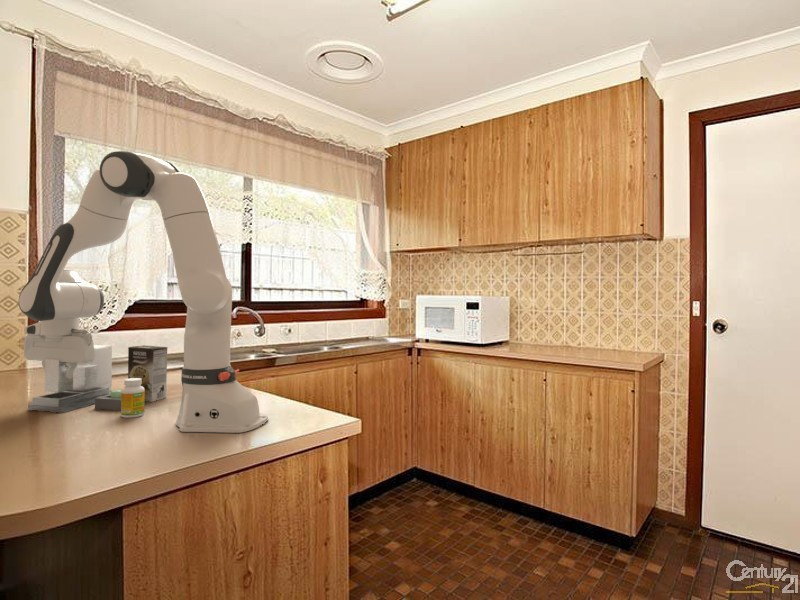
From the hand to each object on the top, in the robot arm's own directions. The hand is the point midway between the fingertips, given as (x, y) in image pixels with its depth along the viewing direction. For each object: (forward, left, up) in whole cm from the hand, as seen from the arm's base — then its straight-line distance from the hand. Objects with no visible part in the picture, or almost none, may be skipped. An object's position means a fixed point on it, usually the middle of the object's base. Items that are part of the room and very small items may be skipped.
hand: (59, 377), depth 128 cm
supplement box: (+8, -18, -9) cm, 21 cm away
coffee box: (-15, -16, -9) cm, 23 cm away
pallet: (0, -4, -9) cm, 10 cm away
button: (-14, -6, -7) cm, 17 cm away
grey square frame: (-14, -6, -9) cm, 17 cm away
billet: (0, 0, -4) cm, 4 cm away
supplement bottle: (-25, +1, -9) cm, 27 cm away
